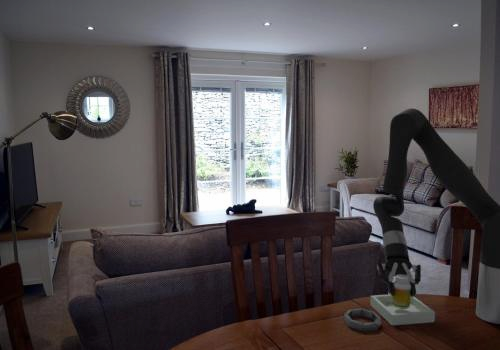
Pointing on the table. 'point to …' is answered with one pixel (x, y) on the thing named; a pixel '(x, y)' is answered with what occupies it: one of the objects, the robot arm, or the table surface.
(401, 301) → the supplement bottle
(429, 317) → the tray
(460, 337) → the table surface
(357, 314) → the holder ring
